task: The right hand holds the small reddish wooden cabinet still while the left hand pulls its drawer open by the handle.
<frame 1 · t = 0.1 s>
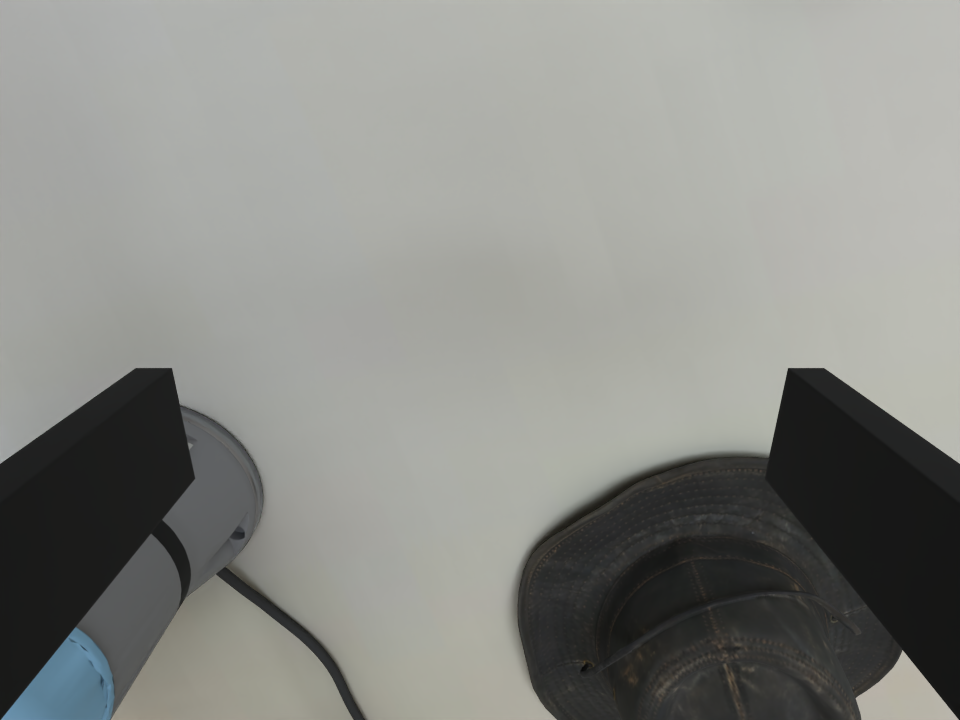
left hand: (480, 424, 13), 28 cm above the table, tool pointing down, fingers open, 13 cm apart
hat: (702, 623, 52), on the table
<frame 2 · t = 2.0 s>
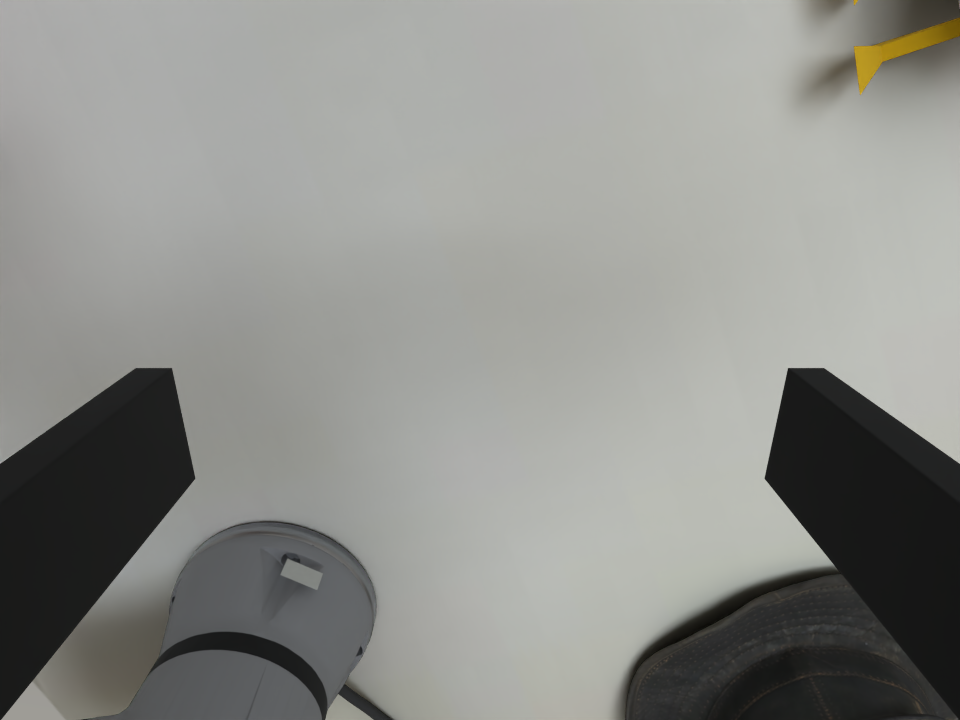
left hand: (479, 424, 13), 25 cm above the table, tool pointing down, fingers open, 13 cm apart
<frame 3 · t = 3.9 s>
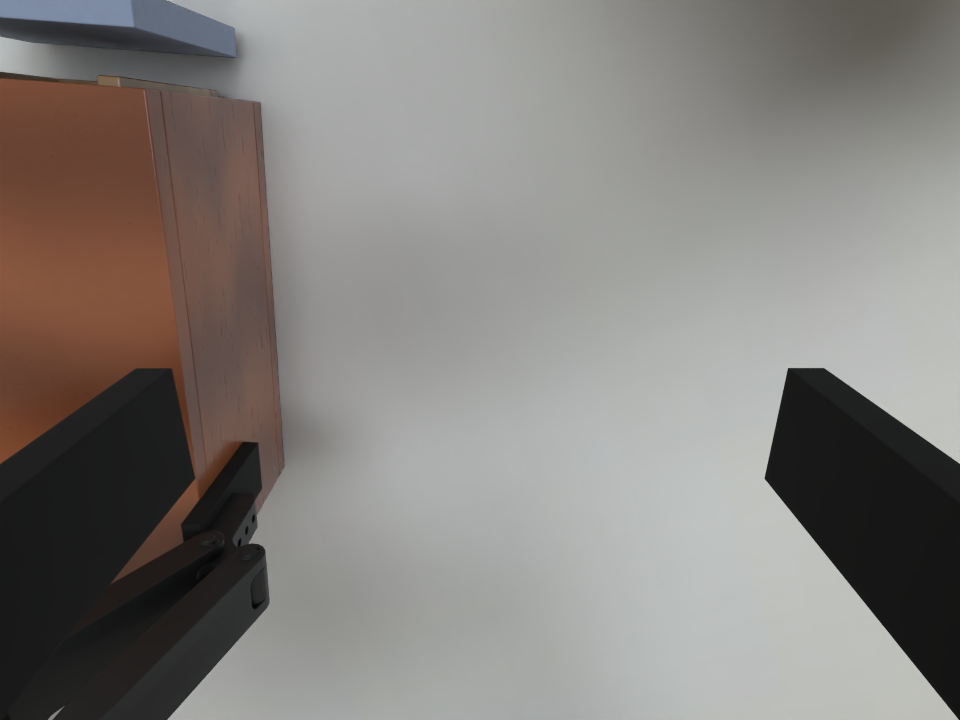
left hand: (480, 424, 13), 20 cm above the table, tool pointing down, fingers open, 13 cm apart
drawer: (100, 193, 25), point 5 cm above the table, slide at 1.8 cm
cabinet: (177, 300, 32), on the table, touching right hand
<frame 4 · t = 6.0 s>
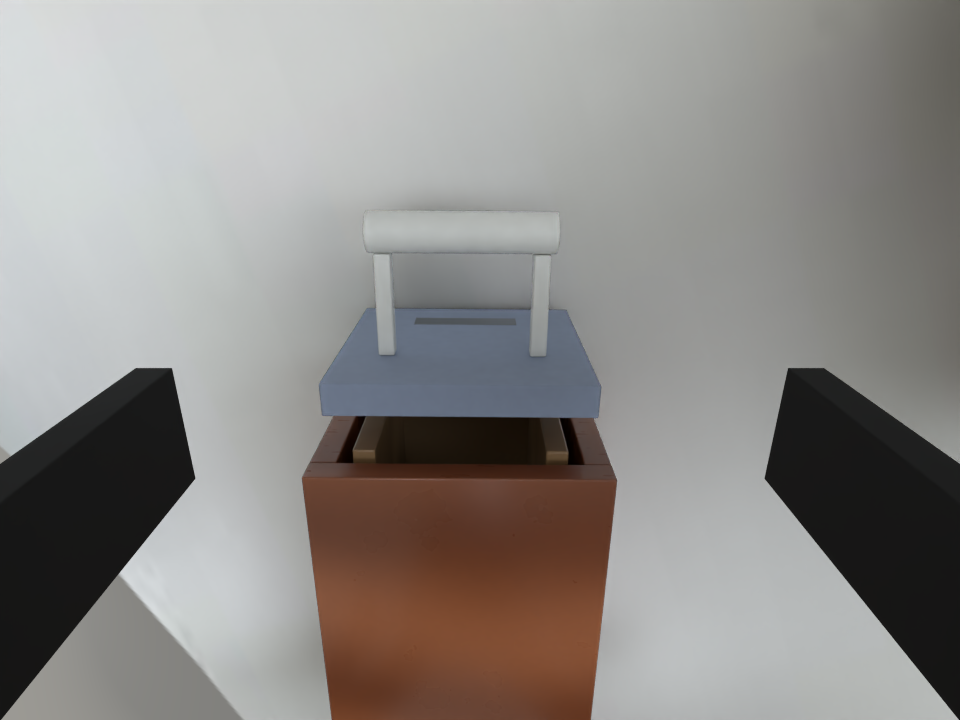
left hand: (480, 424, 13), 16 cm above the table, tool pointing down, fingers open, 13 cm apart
drawer: (464, 491, 26), point 5 cm above the table, slide at 1.8 cm
cabinet: (467, 529, 33), on the table, touching right hand
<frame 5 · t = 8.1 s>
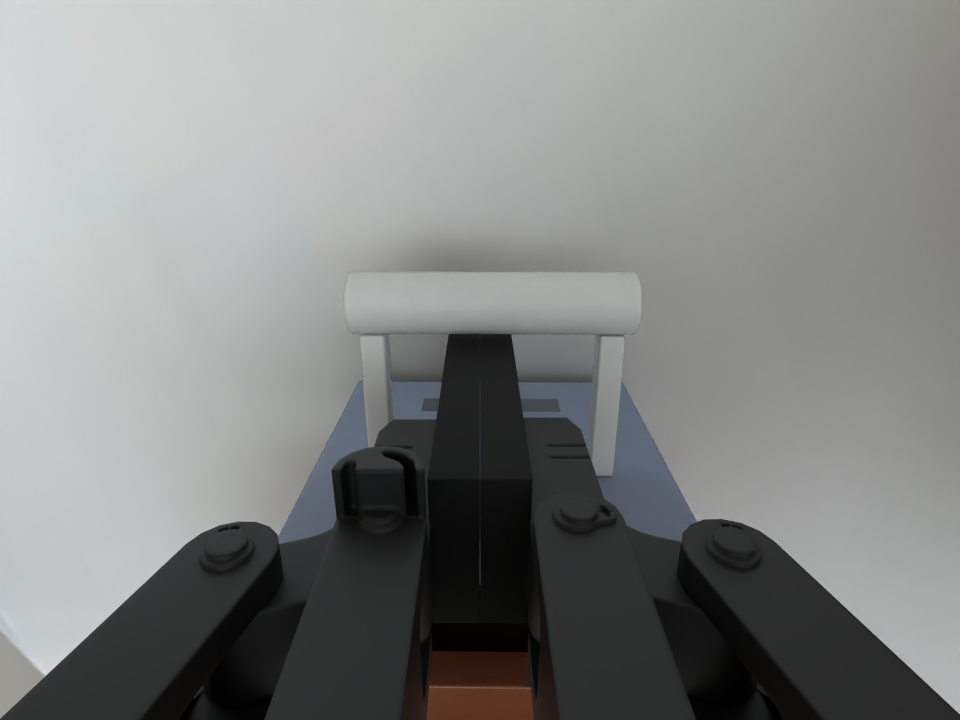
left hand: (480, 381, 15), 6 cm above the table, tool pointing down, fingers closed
drawer: (489, 633, 19), point 5 cm above the table, slide at 1.9 cm, touching left hand
cabinet: (488, 645, 26), on the table, touching right hand
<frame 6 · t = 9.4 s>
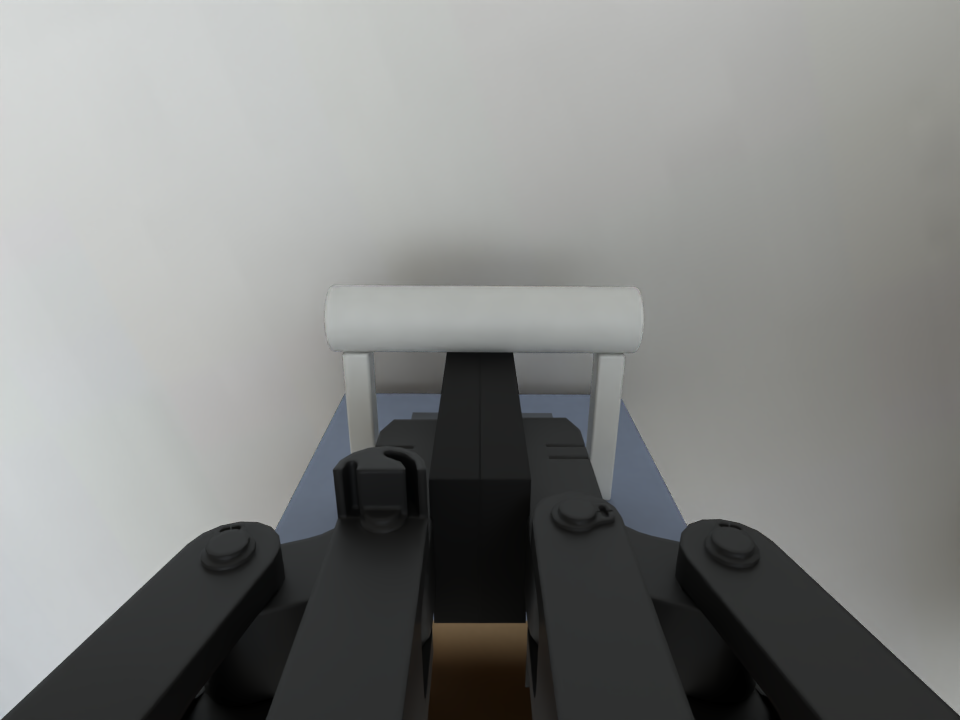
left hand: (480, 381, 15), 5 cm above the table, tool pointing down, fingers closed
drawer: (481, 656, 18), point 5 cm above the table, slide at 8.5 cm, touching left hand
when the right hand's fingers open (6 cm above the table, at t = 11.3 s): cabinet stays where it is, on the table.
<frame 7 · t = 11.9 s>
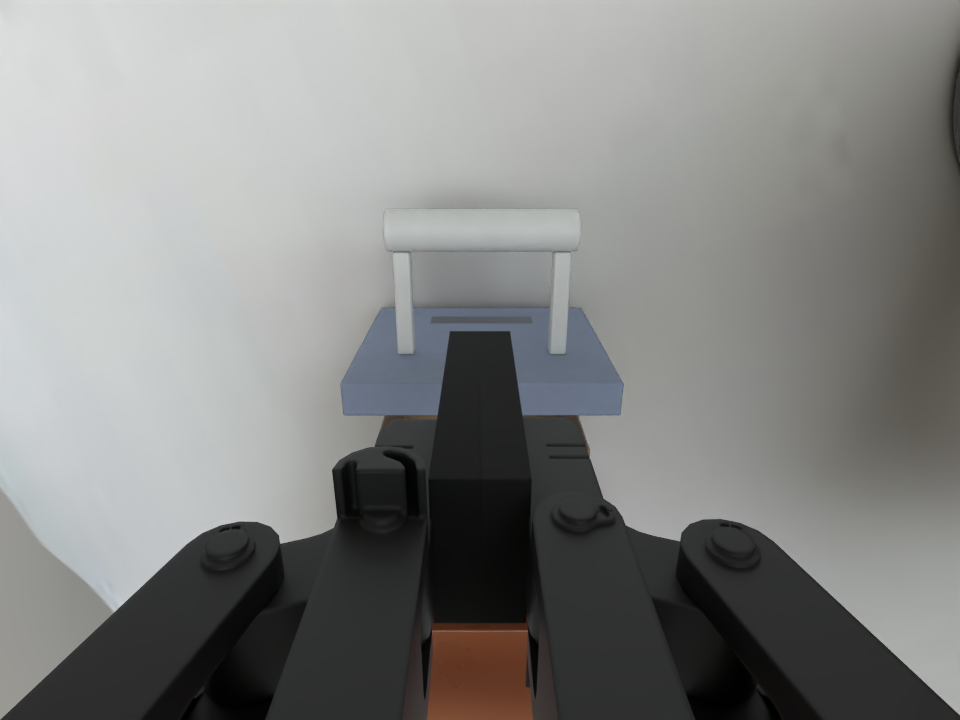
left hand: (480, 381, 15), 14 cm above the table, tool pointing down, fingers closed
drawer: (481, 490, 26), point 5 cm above the table, slide at 8.5 cm
cabinet: (481, 619, 36), on the table
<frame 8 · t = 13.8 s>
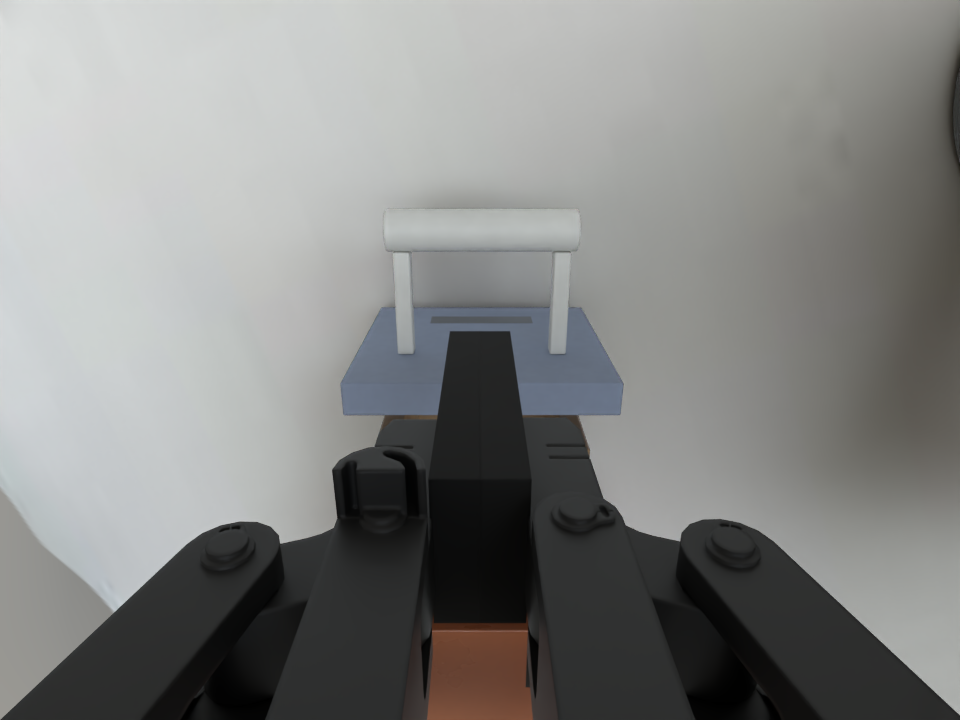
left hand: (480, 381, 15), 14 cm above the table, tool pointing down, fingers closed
drawer: (481, 490, 26), point 5 cm above the table, slide at 8.5 cm
cabinet: (481, 619, 36), on the table
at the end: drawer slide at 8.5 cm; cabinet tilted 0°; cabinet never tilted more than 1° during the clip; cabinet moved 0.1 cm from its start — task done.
